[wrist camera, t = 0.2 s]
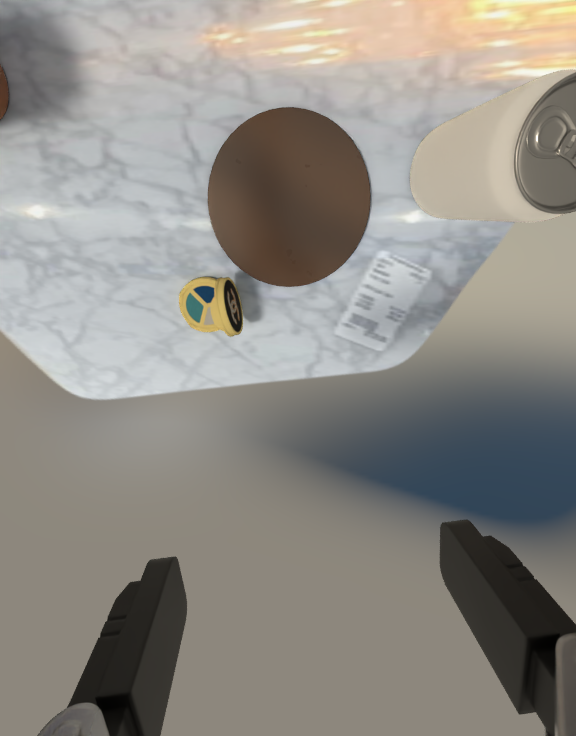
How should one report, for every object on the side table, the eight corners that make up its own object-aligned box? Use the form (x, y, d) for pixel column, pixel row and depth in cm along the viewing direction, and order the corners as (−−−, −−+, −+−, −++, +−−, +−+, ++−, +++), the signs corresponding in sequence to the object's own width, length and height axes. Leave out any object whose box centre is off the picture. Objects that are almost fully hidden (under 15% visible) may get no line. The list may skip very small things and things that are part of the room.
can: (434, 104, 25) (566, 22, 14) (509, 143, 27) (682, 96, 16) (392, 199, 28) (478, 191, 17) (463, 231, 29) (586, 244, 18)
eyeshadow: (172, 283, 29) (156, 296, 24) (233, 270, 29) (228, 281, 24) (189, 334, 31) (177, 356, 26) (247, 322, 31) (244, 341, 26)
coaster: (244, 73, 24) (244, 70, 23) (397, 160, 27) (400, 159, 26) (187, 247, 28) (185, 248, 27) (324, 308, 31) (326, 310, 30)
